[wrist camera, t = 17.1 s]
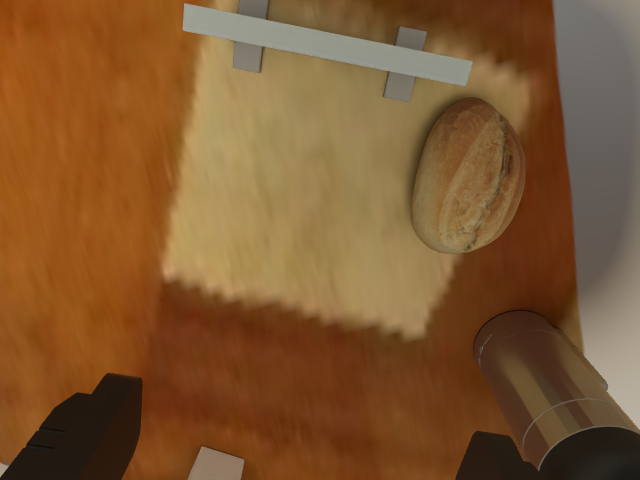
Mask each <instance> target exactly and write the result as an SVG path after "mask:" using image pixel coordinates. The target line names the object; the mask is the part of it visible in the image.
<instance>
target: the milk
mask: <svg viewBox="0 0 640 480" xmlns="http://www.w3.org/2000/svg"><path fill="white" fill-rule="evenodd" d="M243 465H244V459H241V458H238V457H235V456H232V455H229V454H226V453H223V452H219V451H216V450H213V449H210V448H207V447H204V446H202V447H201V449H200V451H199V453H198V456H197V458H196V460H195V463H194V465H193V467H192V470H191V472H190V475H189V477H188V480H241V475H242V470H243Z"/></svg>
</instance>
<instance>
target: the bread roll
mask: <svg viewBox="0 0 640 480" xmlns="http://www.w3.org/2000/svg"><path fill="white" fill-rule="evenodd" d="M524 185H525V155H524V150H523V147H522V145H521V142H520V140H519V137H518V135H517V134H516V133H515V131H514V129H513V128H512V126H511V125H510V124H509V122H508V121H507V120H506V118H504V117H503V116H502V115H501V114H500V113H499V112H498V111H497V110H496V109H495V108H493V107H492V106H491V105H490V104H488V103H487V102H485V101H484V100H482V99H477V98H467V99H463V100H460V101H458V102H457V103H455V104H454V105H452V106H451V107H449V108H448V109H447V110H446V111H445V112H444V113H443V114H442V115H441V116H440V118H439V119H438V120H437V122H436V123H435V125H434V126H433V128H432V130H431V132H430V134H429V136H428V138H427V141H426V143H425V146H424V149H423V153H422V156H421V159H420V162H419V166H418V170H417V174H416V178H415V183H414V189H413V194H412V202H411V221H412V225H413V228H414V230H415V232H416V234H417V236H418V237H419V238H420V240H421V241H422V242H423V243H424V244H425V245H426V246H427V247H429V248H430V249H433V250H435V251H438V252H440V253H450V254H456V253H464V252H466V253H468V252H470V251H473V250H476V249H478V248H481V247H483V246H485V245H487V244H489V243H491V242H492V241H494V240H495V239H496V238H498V237H499V236H500V235H501V234H502V233H503V231H504V230H505V229H506V228H507V226H508V225H509V223H510V222H511V220H512V219H513V217H514V215H515V213H516V210H517V208H518V205H519V203H520V200H521V197H522V194H523V190H524Z"/></svg>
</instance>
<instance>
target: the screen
mask: <svg viewBox="0 0 640 480" xmlns="http://www.w3.org/2000/svg"><path fill="white" fill-rule="evenodd" d="M268 7H269V0H239V9H238V14H235V13H230V12H225V11H220V10H215V9H210V8H205V7H200V6H195V5H190V4H185V3H184V18H183V31H188V32H193V33H198V34H203V35H208V36H213V37H218V38H223V39H228V40H233V41H235V47H234V57H233V66H232V68H236V69H242V70H247V71H252V72H257V73H260V71H261V63H262V55H263V47H269V48H274V49H279V50H284V51H289V52H294V53H299V54H304V55H309V56H314V57H319V58H324V59H329V60H334V61H339V62H344V63H349V64H354V65H359V66H365V67H370V68H375V69H380V70H385V71H388V76H387V80H386V85H385V89H384V94H383V97H385V98H390V99H396V100H401V101H406V102H410V98H411V94H412V90H413V86H414V82H415V78H416V77H420V78H425V79H430V80H435V81H440V82H446V83H451V84H456V85H461V86H466V84H467V81H468V77H469V74H470V70H471V67H472V63H473V61H468V60H463V59H458V58H453V57H448V56H443V55H438V54H433V53H428V52H423V51H422V50H423V46H424V42H425V38H426V34H427V32H426V31H421V30H416V29H411V28H406V27H402V26H400V27H398V31H397V36H396V40H395V45H394V46H393V45H388V44H384V43H379V42H374V41H369V40H364V39H359V38H354V37H349V36H344V35H339V34H334V33H329V32H324V31H319V30H314V29H309V28H304V27H299V26H294V25H289V24H284V23H279V22H274V21H269V20H267V15H268Z"/></svg>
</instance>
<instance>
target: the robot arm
mask: <svg viewBox="0 0 640 480" xmlns="http://www.w3.org/2000/svg"><path fill="white" fill-rule="evenodd" d="M474 355H475V358H476V361H477V363H478V365H479V367H480V369H481V371H482V373H483V375H484V377H485V379H486V381H487V383H488V385H489V387H490V389H491V391H492V393H493V395H494V397H495V399H496V401H497V403H498V405H499V407H500V409H501V411H502V413H503V415H504V417H505V419H506V421H507V423H508V425H509V427H510V429H511V431H512V433H513V435H514V437H515V439H516V442H517V444H518V446H519V448H520V450H521V452H522V454H523V456H524V458H525V460H526V461H527V462H525V461H523V460H522V458H521V456H520V453H519V451H518V449H517V447H516V445H515V443H514V441H513V440H512V439H511V437H509V436H507V435H501V434H494V433H488V432H481V431H476V432H475V433H474V434H473V436H472V438H471V441H470V443H469V446H468V448H467V450H466V453H465V455H464V458H463V460H462V463H461V465H460V468H459V470H458V473H457V476H456V479H455V480H640V430H639V429H638V428H637V426H636V425H635V424H634V423H633V422H632V421H631V420H630V418H629V417H628V416H627V415H626V413H624V411H623V410H622V409H621V408H620V407H619V406H618V404H617V403H616V402H615V401H614V400H613V398H612V397H611V396H610V395H609V394H608V392H607V389H608V384H607V382H606V381H605V380H604V379H603V377H602V376H601V375H600V374H599V373H598V372H597V371H596V369H595V368H594V367H593V366H592V365H591V364H590V362H589V361H588V360H587V359H586V358H585V357H584V356H583V354H582V353H581V352H580V351H579V350H578V349H577V347H576V346H575V345H574V344H573V343H572V342H571V341H570V339H569V338H568V337H567V336H566V335H565V334H564V333H563V331H562V330H561V329H558V328H554V327H552V326H551V325H550V324H549V323H548V321H547V320H546V319H544V318H543V317H541V316H540V315H538V314H535V313H533V312H528V311H513V312H507V313H504V314H502V315H499V316H497V317H495V318H494V319H492V320H490V321H489V322H488V323H487V324H486V325H484V327H483V328H482V329H481V330H480V332H479V333H478V335H477V337H476V339H475V344H474ZM141 407H142V379H141V378H139V377H133V376H126V375H120V374H113V373H107V374H106V375H105V376H104V377H103V379H102V380H101V381H100V383H99V384H98V386H97V387H96V389H95V390H94V391H93V393H92V394H85V393H78V392H77V393H76V394H74V395H73V396H71V397H70V398H68V399H67V400H65V401H64V402H62V403H61V404H59V405H58V406H56V407H55V408H54V409H53V411H52V412H51V413H50V414H49V416H48V417H47V418H46V420H45V421H44V422H43V423H42V425H41V426H40V428H39V431H36V432H35V434H34V435H33V436H32V438H31V439H30V440H29V441H28V443H27V445H26V447H25V448H23V449H22V450H21V452H20V453H19V454H18V455H17V457H16V458H15V459H14V461H13V462H12V463H11V464H10V466H9V467H8V468H7V470H6V471H5V472H4V474H3V475H2V476H1V477H0V480H121V479H122V477H123V475H124V473H125V471H126V469H127V467H128V465H129V463H130V460H131V458H132V456H133V454H134V451H135V449H136V446H137V442H138V439H139V434H140V427H141Z"/></svg>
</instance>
